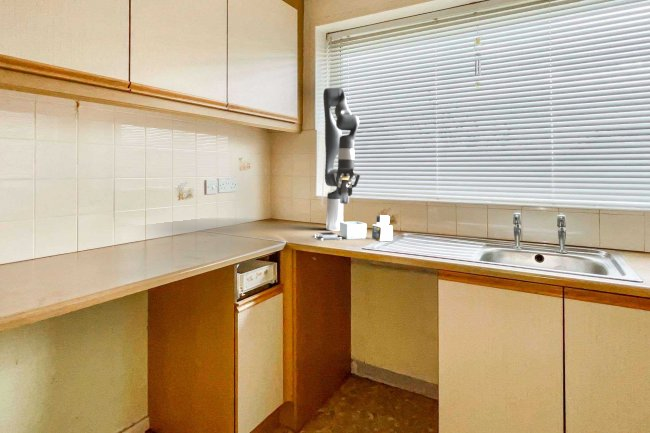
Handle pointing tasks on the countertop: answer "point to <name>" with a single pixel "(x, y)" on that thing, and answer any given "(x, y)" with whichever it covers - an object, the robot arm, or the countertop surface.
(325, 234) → the mount
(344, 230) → the bin
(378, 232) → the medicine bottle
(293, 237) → the countertop surface
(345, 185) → the black and gold cylinder
